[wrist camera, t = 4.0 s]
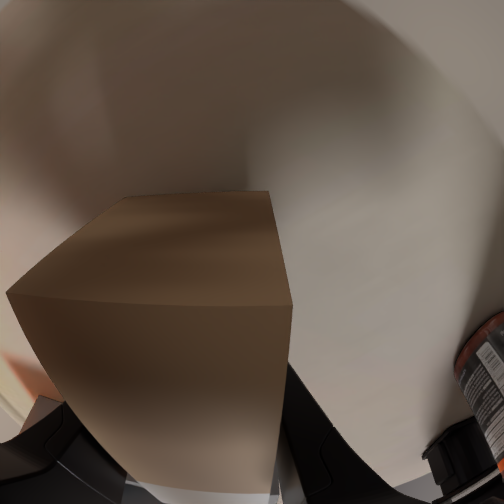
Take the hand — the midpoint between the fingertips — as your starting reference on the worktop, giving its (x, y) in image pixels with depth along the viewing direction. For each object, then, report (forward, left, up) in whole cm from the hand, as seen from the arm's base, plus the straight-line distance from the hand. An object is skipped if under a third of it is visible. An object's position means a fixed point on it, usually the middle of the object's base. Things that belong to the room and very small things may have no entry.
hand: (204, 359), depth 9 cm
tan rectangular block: (0, 0, -1) cm, 1 cm away
